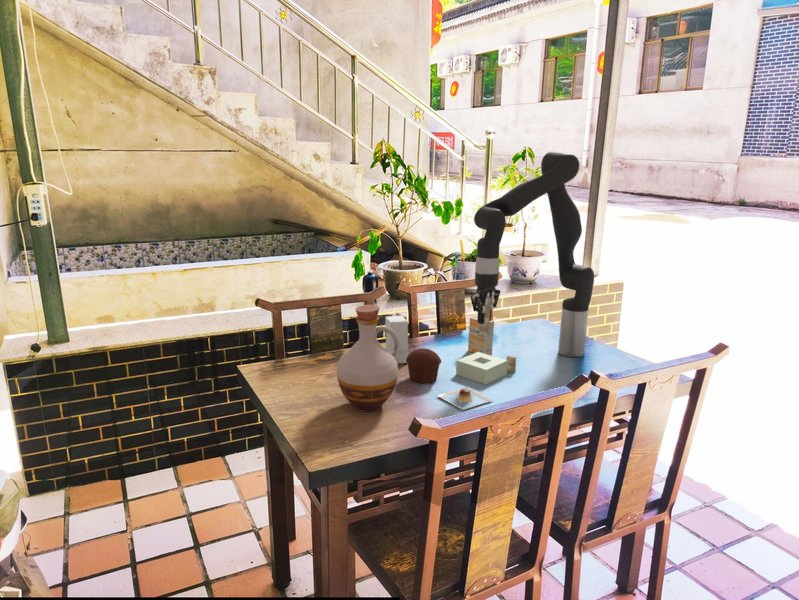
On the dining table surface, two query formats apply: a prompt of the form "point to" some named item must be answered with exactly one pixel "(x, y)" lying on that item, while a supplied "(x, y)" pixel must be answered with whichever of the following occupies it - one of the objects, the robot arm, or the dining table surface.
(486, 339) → the supplement box
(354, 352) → the jug
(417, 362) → the muffin
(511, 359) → the short dowel
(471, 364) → the hole block
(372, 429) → the dining table surface
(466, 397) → the dessert
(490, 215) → the robot arm
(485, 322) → the long dowel
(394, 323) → the skincare box
